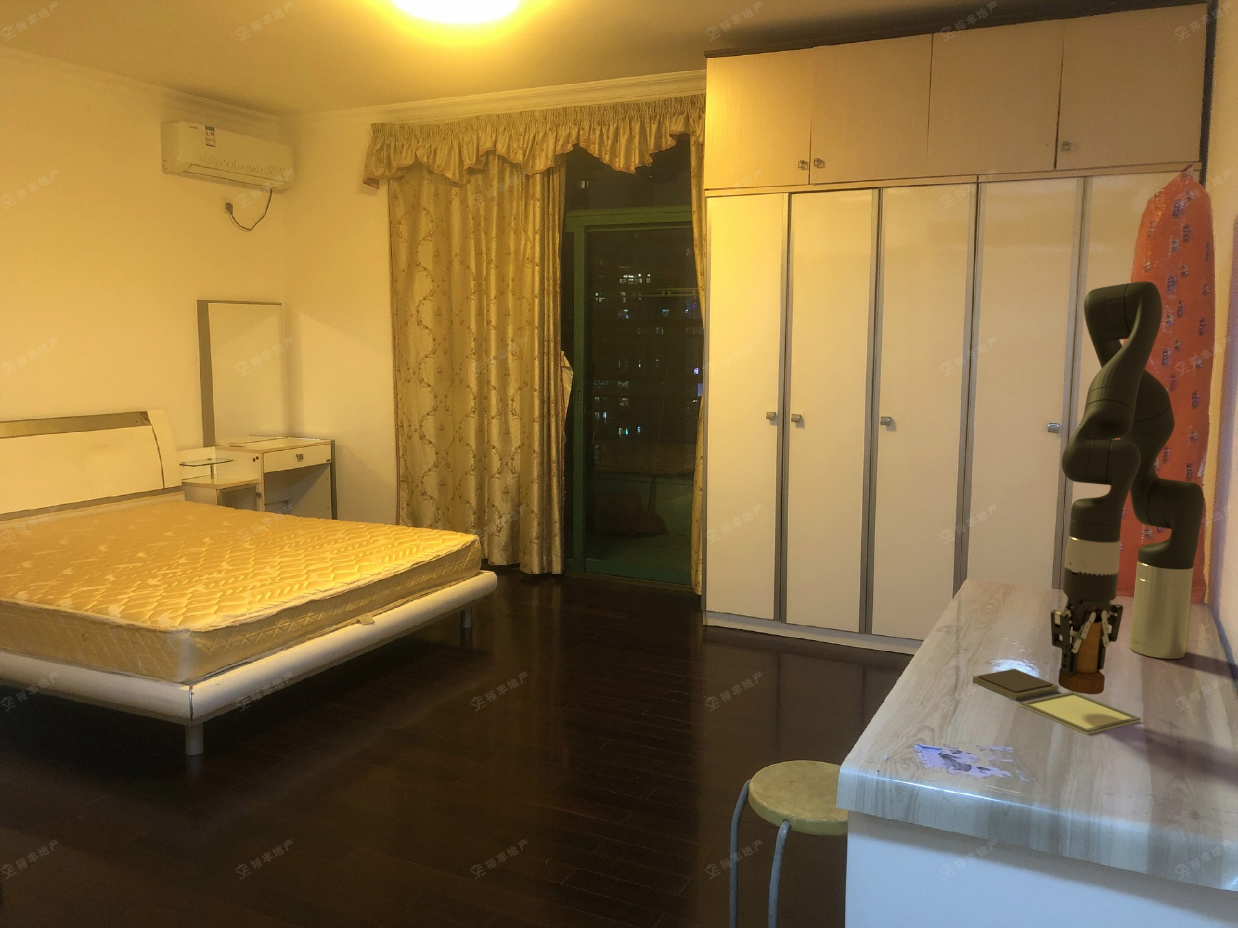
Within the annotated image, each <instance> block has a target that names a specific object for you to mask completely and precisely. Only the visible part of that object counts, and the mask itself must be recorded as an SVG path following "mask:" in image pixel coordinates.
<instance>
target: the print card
mask: <svg viewBox="0 0 1238 928" xmlns="http://www.w3.org/2000/svg"><path fill="white" fill-rule="evenodd" d="M1019 705H1020V706H1021V707H1023V708H1025V709H1027V710H1030V711H1031V712H1034V713H1036V714H1038V715H1041V716H1043V717H1046V718H1048V719H1051V720H1053V721H1055V722H1058V723H1059V724H1061V725H1064V726H1067V727H1068V728H1071V729H1073V730H1076V731H1079V732H1081V733H1083V734H1085V735H1092V734H1094V733H1099V732H1102V731H1108V730H1110V729H1111V730H1112V729H1115V728H1119V727H1123V726H1127V725H1131V724H1135V723H1141V719H1142V718H1141V717H1140V716H1136V715H1133V714H1131V713H1128V712H1127V711H1123V710H1121V709H1119V708H1116V707H1113V706H1110V704H1109V705H1108V704H1106V703H1103V702H1100V701H1098V700H1095V699H1093V698H1091V697H1088V696H1085V695H1082V694H1081V693H1077V692H1073V691H1066V692H1062V693H1057V694H1053V695H1048V696H1044V697H1040V698H1034V699H1031V700H1030V699H1029V700H1026V701H1021V702H1020V703H1019Z"/></svg>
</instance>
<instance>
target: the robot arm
mask: <svg viewBox="0 0 1238 928" xmlns="http://www.w3.org/2000/svg"><path fill="white" fill-rule="evenodd" d="M1084 297H1085V298H1084V301H1083V314H1084V319H1085V324H1086V327H1087V331H1088V335H1089V337H1090V339H1091V343H1092V345H1093V348H1094V351H1095V355H1096V356H1097V359H1098V362H1099V365H1100V367H1101V368H1100V369H1099V371H1098V372H1097V373H1096V375H1095V376H1094V378H1092V381H1091V383H1090V385H1089V388H1088V391H1087V394H1086V400H1085V405H1084V411H1083V414H1082V415H1083V416H1082V419H1081V421H1080V423H1079V424H1078V427H1077V428H1076V430H1075V432H1074V433H1073V435H1072V436H1071V438H1069V441H1068V443H1067V444H1066V447H1065V448H1064V450H1063V453H1062V456H1061V467H1062V472H1063V474H1064V475H1065V477H1066V478H1068V480H1070V481H1072V482H1075V483H1080V484H1081V483H1083V484H1091V485H1092V484H1093V485H1104V486H1107V485H1108V486H1110V489H1109V491H1108V493H1106V494H1104V495H1102V496H1095V497H1085V498H1078V499H1076V500H1075V501H1074V502H1073V503H1072V505H1071V507H1070V508H1071V509H1070V518H1069V519H1070V522H1069V532H1068V540H1067V545H1066V548H1065V557H1064V558H1065V559H1064V569H1063V579H1062V581H1063V582H1062V592H1063V594H1065V595H1066V597H1067V601H1066V604H1065V606H1064V609H1062V610H1057V609H1052V610H1051V612H1050V630H1051V633H1050V634H1051V645H1052V646H1053V647H1055V648H1059V649H1061V658H1060V659H1061V660H1060V668H1061V670H1062V672H1063V673H1065V674H1068V675H1070V676H1073V675H1076V673H1077V663H1078V653H1077V651H1078V649H1079V646H1080V644H1081V641H1082V640H1085V639H1086V636H1087V634H1088V631H1089V628H1090V626H1091V624H1092V623H1098V621H1102V622H1101V631H1100V640H1099V649H1098V659H1097V669H1098V670H1099V671H1102V670H1104V668H1105V667H1104V666H1105V662H1106V654H1107V653H1106V651H1107V648H1108V647H1109V646H1110V643H1112V642H1113V643H1115V642H1117V640H1118V637H1119V636H1118V635H1119V631H1120V626H1121V621H1122V617H1123V612H1124V606H1123V605H1122V604H1118V603H1115V602H1111V601H1114V600H1115V599H1116V598H1117V592H1118V580H1119V570H1120V559H1121V550H1120V548H1121V547H1120V540H1121V529H1122V520H1123V519H1122V518H1123V512H1124V507H1125V504H1126V500H1127V498H1128V496H1129V495H1130V500H1131V507H1132V509H1133V515H1134V516H1135V518H1136V519H1137V520H1138V522H1139V523H1141V524H1144V525H1146V526H1148V527H1149V526H1151V527H1156V528H1162V529H1167V530H1168V529H1169V530H1170V531H1171V532H1170V535H1169V537H1168V539H1166V540H1164V541H1162V542H1155V543H1154V542H1153V543H1147V544H1144V545H1141V546H1140V547H1139V549H1138V551H1137V561H1136V562H1137V563H1136V569H1135V570H1136V573H1135V584H1134V592H1133V593H1134V595H1133V604H1132V614H1131V615H1132V616H1131V617H1132V618H1131V625H1130V638H1129V648H1130V650H1131V651H1132V652H1135V653H1137V654H1140V655H1144V656H1148V657H1151V658H1157V659H1165V660H1166V659H1167V660H1169V659H1171V660H1175V659H1182V658H1184V657H1185V655H1186V654H1187V653H1188V645H1189V636H1190V627H1191V626H1190V625H1191V617H1192V616H1191V615H1192V605H1191V594H1192V585H1193V573H1194V566H1195V565H1194V564H1195V558H1196V555H1197V552H1198V551H1197V549H1198V546H1199V537H1200V532H1201V525H1202V519H1203V513H1204V507H1205V503H1204V502H1205V497H1204V495H1205V494H1204V491H1203V489H1202V487H1201V486H1200V484H1198V483H1195V482H1192V481H1185V480H1179V479H1178V480H1177V479H1171V478H1170V479H1169V478H1161V477H1160V476H1158V474H1157V471H1156V467H1155V466H1156V464H1155V463H1156V460H1157V458H1158V456H1159V454H1160V453H1161V452H1162V450H1163V449H1164V448H1165V446H1166V444H1167V443H1168V442H1169V439H1170V438H1171V437H1172V435H1173V432H1174V430H1175V424H1176V423H1175V416H1174V412H1173V407H1172V403H1171V398H1170V395H1169V391H1168V390H1167V389H1166V387H1165V386H1164V384H1163V383H1162V382H1161V381H1160V380H1159V379H1158V378H1156V377H1155V376H1154V375H1153V374H1152V373H1150V372H1149V371H1148V370H1146V366H1147V364H1148V362H1149V360H1150V356H1151V354H1152V351H1153V348H1154V346H1155V342H1156V339H1157V337H1158V333H1159V330H1160V327H1161V323H1162V318H1163V317H1162V316H1163V304H1162V298H1161V297H1162V296H1161V292H1160V291H1159V289H1158V287H1157V286H1156V284H1154V283H1153V282H1152V281H1146V280H1145V281H1135V282H1130V283H1129V282H1128V283H1127V282H1126V283H1121V284H1116V285H1114V284H1113V285H1108V286H1102V287H1097V288H1094V289H1092V290H1090V291H1089V292H1087V294H1086V295H1085V296H1084ZM1121 340H1125V341H1126V342H1125V343H1124V344H1122V342H1121ZM1094 605H1096V609H1095V610H1093V608H1092V606H1094ZM1110 626H1111V630H1110V628H1109V627H1110ZM1072 628H1074V629H1076V630H1079V632H1075V631H1072ZM1060 636H1061V638H1060ZM1072 636H1073V637H1074V640H1073V643H1072V644H1071V638H1072Z"/></svg>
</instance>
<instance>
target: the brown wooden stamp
mask: <svg viewBox="0 0 1238 928" xmlns="http://www.w3.org/2000/svg"><path fill="white" fill-rule="evenodd" d="M1092 608H1093V610H1095V609H1096V605H1094V606H1092ZM1101 622H1102V621H1098V623H1092V624H1091V626H1090V628H1089V631H1088V634H1087V636H1086V639H1085V640H1082V641H1081V644H1080V646H1079V649H1078V651H1077V653H1078V663H1077V673H1076V675H1073V676H1070V675H1068V674H1065V673H1063V672H1062V670H1061V667H1060V668H1059V669H1058V670H1059V672H1058V681H1057V682H1058V684H1059V685H1058V686H1061V687H1062V688H1063V689H1066V690H1068V691H1069V692H1071V691H1073V692H1075V693H1078V694H1084V695H1098V694H1102V693H1103V692H1104V690H1105V680H1106V677H1105V675H1104V674H1103V673H1102V672H1101V670H1098V669H1097V659H1098V649H1099V640H1100V631H1101ZM1071 630H1072V631H1075V632H1079V630H1076V629H1074V628H1073V627H1071ZM1073 640H1074V637H1073V636H1072V637H1071V638H1070V641H1071V644H1072V643H1073Z"/></svg>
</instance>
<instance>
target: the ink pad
mask: <svg viewBox="0 0 1238 928" xmlns="http://www.w3.org/2000/svg"><path fill="white" fill-rule="evenodd" d="M972 683H974V684H977V685H979V686H981V687H984V688H985V689H988V690H990V691H992V692H994V693H997V694H1000V695H1002V696H1005V697H1006V698H1008V699H1011V700H1014V701H1020V700H1025V699H1030V698H1033V697H1038V696H1043V695H1047V694H1048V695H1049V694H1052V693H1058V691H1059V685H1057V684H1055V683H1052V682H1049V681H1047V680H1044V679H1042V678H1039V677H1038V676H1037V677H1036V676H1034V675H1032V674H1029V673H1027V672H1024V671H1021V670H1019V669H1016V668H1010V669H1005V670H999V671H995V672H990V673H984V674H980V675H973V676H972Z"/></svg>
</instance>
